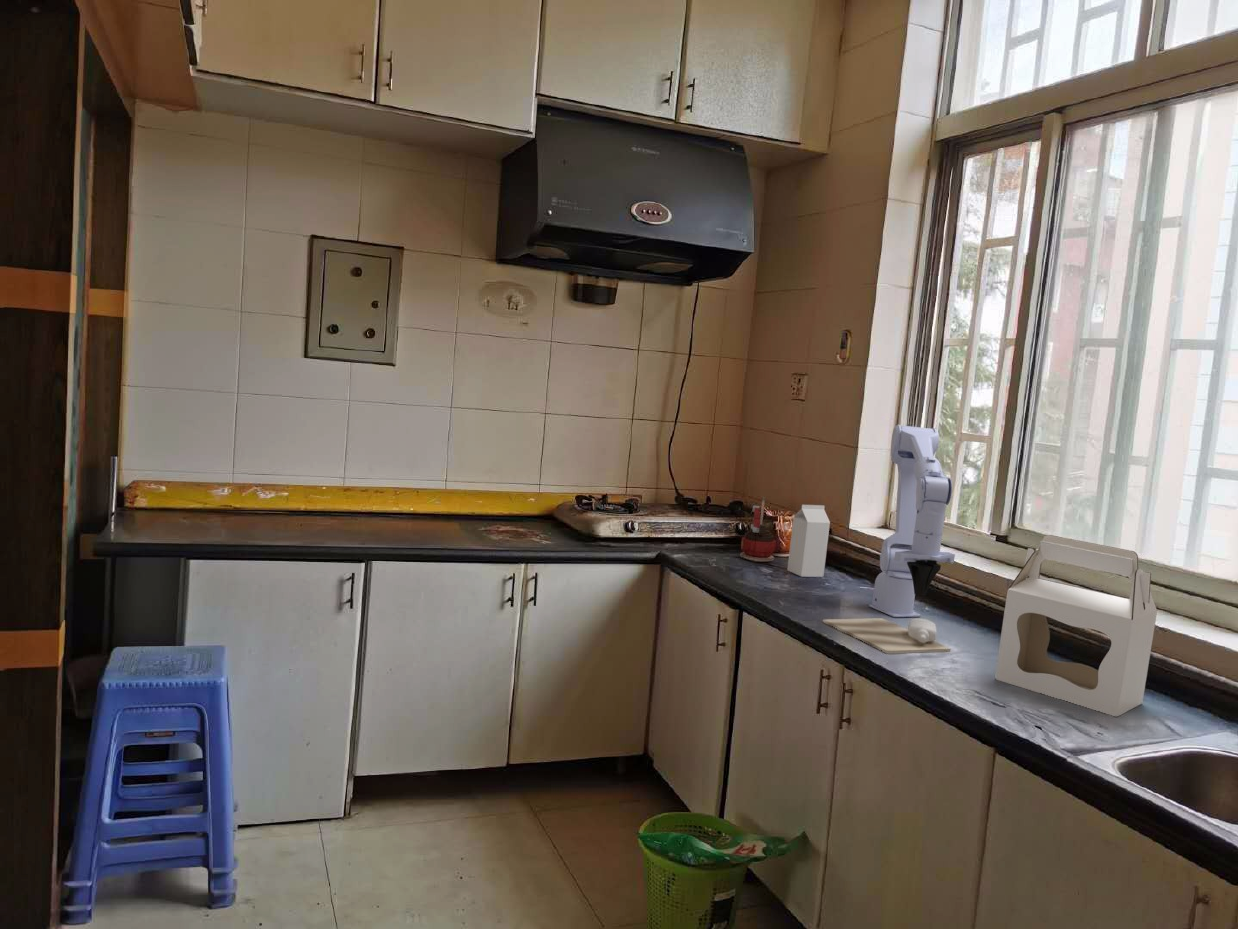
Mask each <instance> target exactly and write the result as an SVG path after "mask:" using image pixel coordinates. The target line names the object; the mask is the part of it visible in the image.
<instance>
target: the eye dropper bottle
mask: <svg viewBox="0 0 1238 929" xmlns="http://www.w3.org/2000/svg"><path fill="white" fill-rule="evenodd" d="M907 629H908V635H909V636H910V637H911V638H913V639H915V640H917V641H919V642H921V643H925V642H932V641H936V639H937V635H938V633H937V631H938V630H937V624H935V623H934V622H933V621H931V620H929V619H927V618H920V617H919V618H917V617H916V618H911V619H909V620H908V625H907Z"/></svg>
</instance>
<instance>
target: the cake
mask: <svg viewBox="0 0 1238 929" xmlns="http://www.w3.org/2000/svg"><path fill="white" fill-rule="evenodd" d="M765 502H766V497H762V499H761V508H760V506H759V505H753V506H752V512H753V518H752V519H753V520H752V523H751V524H750V529H749V530H747V532H745V533H744V535H743V536H742V537H741V541H740V548H741V550H742V552H740V554H739V555H740V557H741V558H743V559H746V560H748V561H751V562H757V563H765V562H766V563H767V562H772V561H774V560H775V557H774V556H773V552H775V551H776V546H777V541H776V540H775V536H774V534H772V532H771V531H770V530H769V529H766V525H765V524H763V518H764V510H765V505H766V504H765Z"/></svg>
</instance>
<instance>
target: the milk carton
mask: <svg viewBox="0 0 1238 929" xmlns="http://www.w3.org/2000/svg"><path fill="white" fill-rule="evenodd" d="M825 507H826V506H825V505H822V504H801V508H800V509H799V510H798V511H797V513H796V514H795V515H794V516H793V520H792V527H791V535H790V543H789V550H788V551H789V553H788V562H787V567H786V568H787V571H788V572H790V573H792V574H795V575H797V576H799V577H802V578H803V577H807V578H808V577H809V578H810V577H813V578H814V577H815V578H820V577H821V578H822V577H824V574H825V568H826V567H825V566H826V559H827V551H828V542H829V534H830V532H829V531H830V525H831V521H830V519H829V517H828V515H827V513H826V510H825Z"/></svg>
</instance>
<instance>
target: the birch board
mask: <svg viewBox="0 0 1238 929" xmlns="http://www.w3.org/2000/svg"><path fill="white" fill-rule="evenodd" d="M822 623H824V624H826V625H828V626H830V627H832V626H833V627H832V628H834V627H835V628H834V629H836V628H837V629H836V630H838V631H839V632H842V633H844V632H846V633H847V635H848V634H849V636H850V635H851V636H850V637H852V636H853V637H852V638H854V639H856V638H858V639H860V640H862V641H863V642H862V641H861V642H862V643H864V642H865V643H864V644H866V643H867V645H868V644H870V645H872V646H874V647H875V648H874V647H873V648H874V649H876V648H877V650H879V651H881V650H882V651H881V652H882V653H885V654H887V655H889V654H891V655H894V654H895V655H896V654H915V653H921V652H922V653H942V652H943V653H944V652H951V650H952V649H951V648H950V647H948V646H946V645H943V644H942V643H939V642H936V640H934V641H932V642H925V643H921V642H919V641H917V640H915V639H913V638H911V637H910V636H909V635H908V628H906V627H904V626H903V627H902V626H901V625H898V624H897V623H893V622H891V621H889V620H887V619H885V618H882V617H879V618H878V617H876V618H875V617H874V618H872V617H871V618H833V619H831V618H828V619H822ZM846 633H845V634H846ZM858 639H857V640H858ZM860 640H859V641H860ZM870 645H869V646H870ZM872 646H871V647H872Z"/></svg>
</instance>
